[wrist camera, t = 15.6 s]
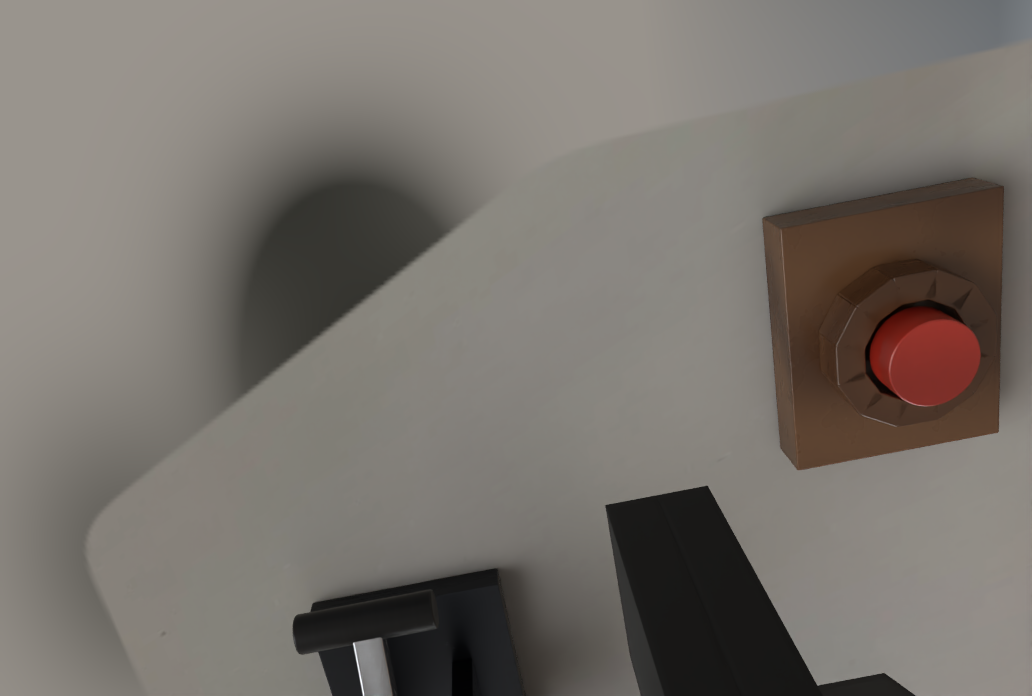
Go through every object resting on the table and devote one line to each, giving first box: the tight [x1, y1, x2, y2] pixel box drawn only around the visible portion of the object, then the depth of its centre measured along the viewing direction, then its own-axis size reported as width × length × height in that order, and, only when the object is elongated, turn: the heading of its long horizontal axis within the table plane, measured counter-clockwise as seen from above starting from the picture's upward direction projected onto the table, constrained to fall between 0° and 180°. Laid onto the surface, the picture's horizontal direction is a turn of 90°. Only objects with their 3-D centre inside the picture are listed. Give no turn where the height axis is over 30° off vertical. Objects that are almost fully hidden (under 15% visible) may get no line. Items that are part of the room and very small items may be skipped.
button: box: [870, 306, 981, 406], centre depth 34 cm, size 4×4×2 cm
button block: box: [763, 178, 1004, 470], centre depth 36 cm, size 11×9×4 cm
